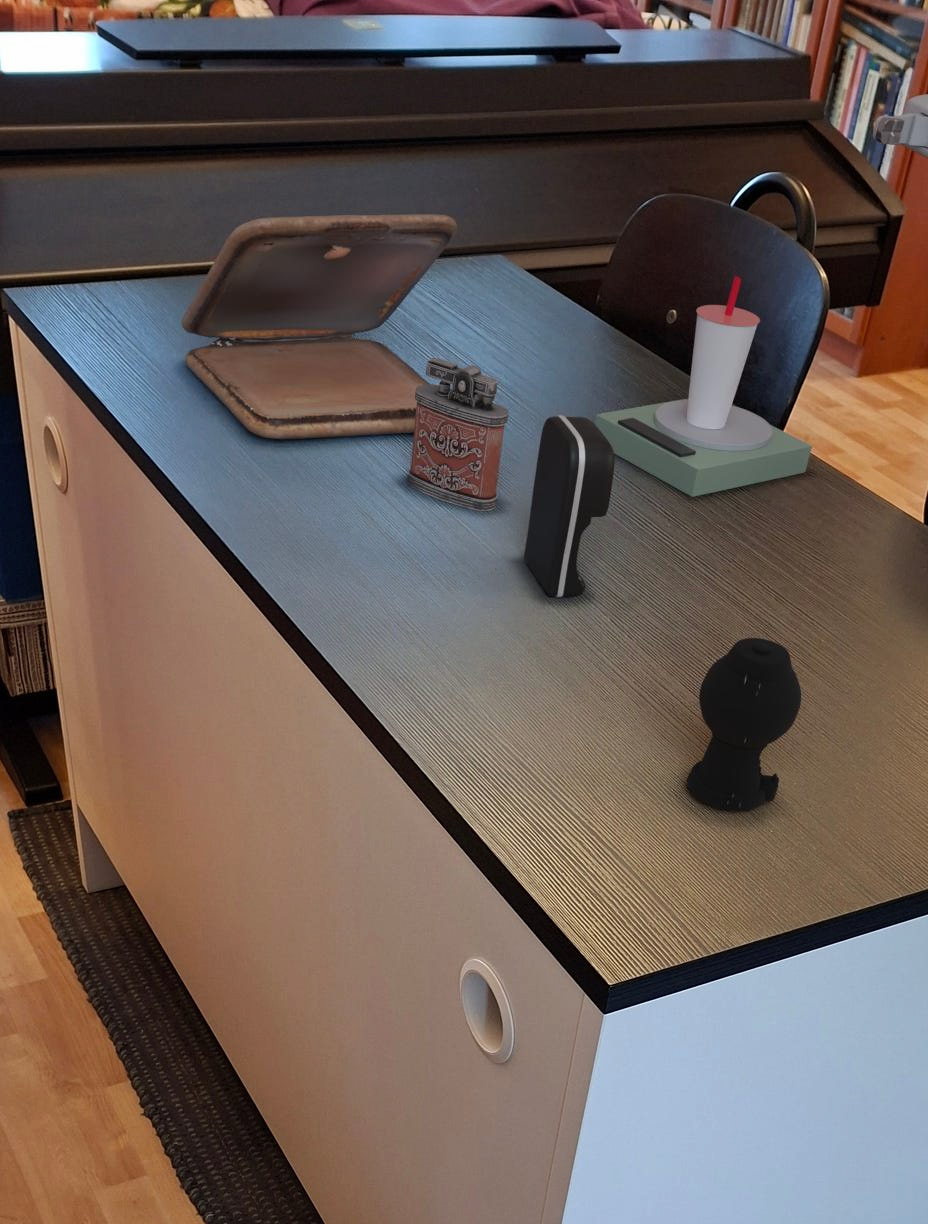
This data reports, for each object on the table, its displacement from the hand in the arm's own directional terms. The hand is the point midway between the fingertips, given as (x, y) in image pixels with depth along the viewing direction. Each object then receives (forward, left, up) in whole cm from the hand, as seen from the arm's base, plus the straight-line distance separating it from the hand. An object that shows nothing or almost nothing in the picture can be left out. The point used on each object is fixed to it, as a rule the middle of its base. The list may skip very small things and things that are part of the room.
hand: (905, 143), depth 127 cm
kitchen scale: (+11, -5, -26) cm, 28 cm away
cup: (+11, -5, -23) cm, 26 cm away
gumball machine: (+49, +37, -26) cm, 67 cm away
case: (+35, -29, -26) cm, 52 cm away
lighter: (+37, -7, -26) cm, 45 cm away
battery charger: (+39, +9, -26) cm, 48 cm away
